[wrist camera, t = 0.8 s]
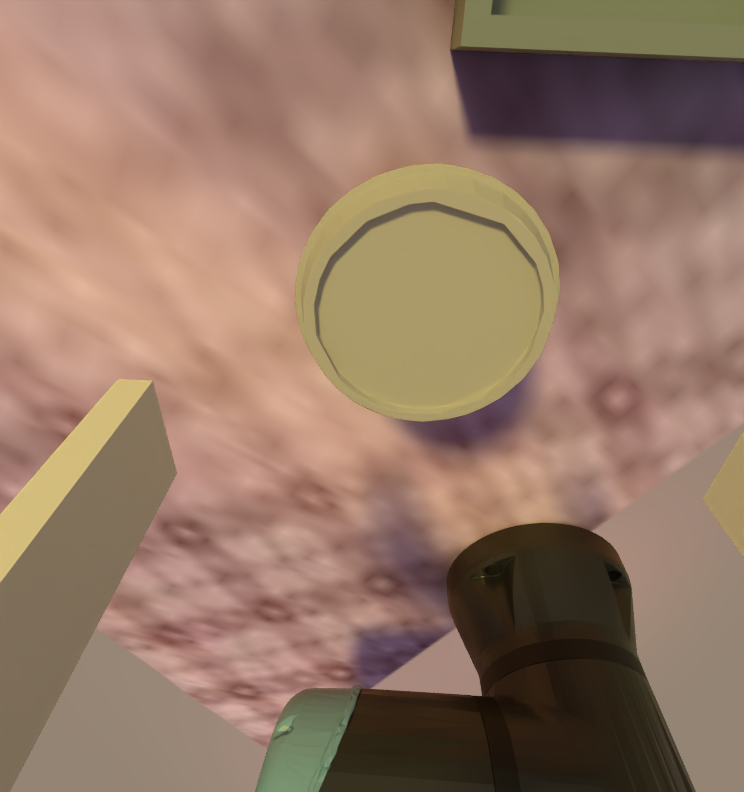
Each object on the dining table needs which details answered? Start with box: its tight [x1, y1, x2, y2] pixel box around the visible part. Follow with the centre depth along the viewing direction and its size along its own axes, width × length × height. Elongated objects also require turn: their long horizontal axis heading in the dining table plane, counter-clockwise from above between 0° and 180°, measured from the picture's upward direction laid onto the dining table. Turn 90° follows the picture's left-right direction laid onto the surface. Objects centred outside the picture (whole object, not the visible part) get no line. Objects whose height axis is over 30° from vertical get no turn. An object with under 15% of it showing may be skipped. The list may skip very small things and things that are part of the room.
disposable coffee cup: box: [295, 164, 560, 422], centre depth 22 cm, size 10×10×12 cm
